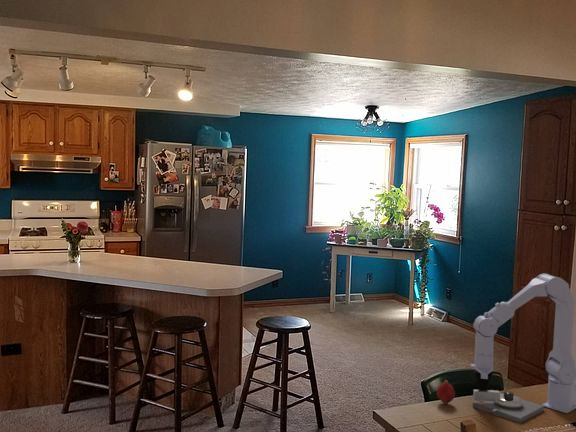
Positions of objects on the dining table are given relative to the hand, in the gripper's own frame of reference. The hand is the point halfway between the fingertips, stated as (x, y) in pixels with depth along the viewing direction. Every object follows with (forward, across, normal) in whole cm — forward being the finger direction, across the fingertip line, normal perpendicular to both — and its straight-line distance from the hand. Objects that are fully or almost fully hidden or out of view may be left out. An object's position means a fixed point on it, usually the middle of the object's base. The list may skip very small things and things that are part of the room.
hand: (482, 393), depth 179 cm
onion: (+4, +3, -12) cm, 13 cm away
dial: (+2, +1, +5) cm, 5 cm away
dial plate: (+4, 0, +8) cm, 9 cm away
